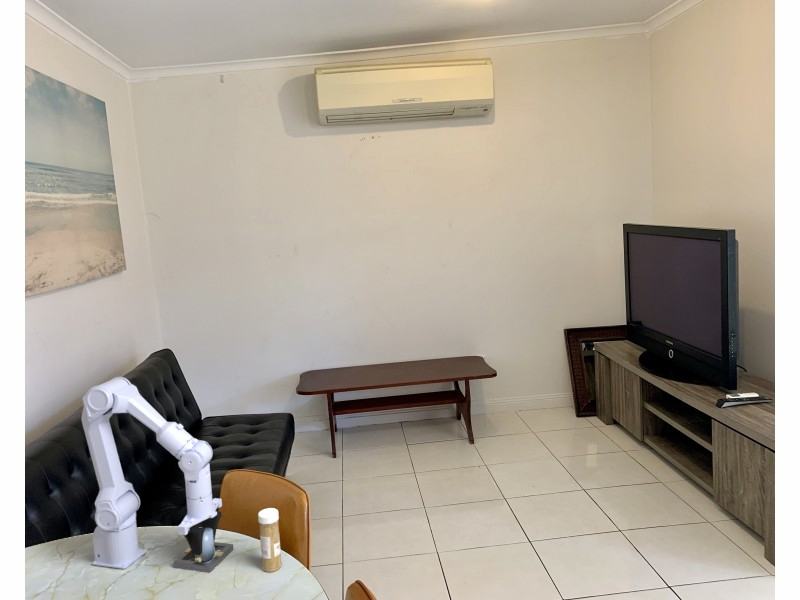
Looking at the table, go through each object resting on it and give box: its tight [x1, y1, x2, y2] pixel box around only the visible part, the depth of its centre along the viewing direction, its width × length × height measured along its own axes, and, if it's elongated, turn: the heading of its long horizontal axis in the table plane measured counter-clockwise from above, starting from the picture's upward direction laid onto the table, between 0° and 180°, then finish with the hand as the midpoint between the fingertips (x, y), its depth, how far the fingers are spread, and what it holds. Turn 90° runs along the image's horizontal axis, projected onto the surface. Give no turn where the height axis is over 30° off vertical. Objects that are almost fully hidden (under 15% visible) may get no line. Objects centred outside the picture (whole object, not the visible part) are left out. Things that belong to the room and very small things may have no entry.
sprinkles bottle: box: [257, 507, 283, 573], centre depth 130 cm, size 5×5×14 cm
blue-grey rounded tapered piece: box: [194, 528, 216, 562], centre depth 135 cm, size 6×4×6 cm
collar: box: [172, 541, 235, 573], centre depth 135 cm, size 10×10×2 cm
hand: (203, 548), depth 135 cm, fingers closed on blue-grey rounded tapered piece, 4 cm apart
